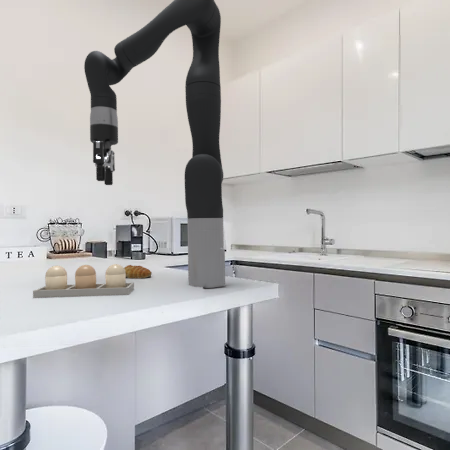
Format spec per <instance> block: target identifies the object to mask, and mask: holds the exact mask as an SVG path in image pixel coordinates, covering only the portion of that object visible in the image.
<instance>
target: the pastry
mask: <svg viewBox="0 0 450 450" xmlns="http://www.w3.org/2000/svg"><path fill="white" fill-rule="evenodd" d="M123 268H124V269H125V272H126V278H127V279H140V280H141V279H146V278H150V277H152V271H151V270H150V269H149V268H147V267H144V266H142V265H132V264H128V265H126V266H125V267H123Z"/></svg>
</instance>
